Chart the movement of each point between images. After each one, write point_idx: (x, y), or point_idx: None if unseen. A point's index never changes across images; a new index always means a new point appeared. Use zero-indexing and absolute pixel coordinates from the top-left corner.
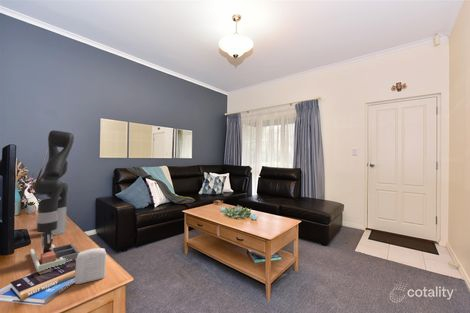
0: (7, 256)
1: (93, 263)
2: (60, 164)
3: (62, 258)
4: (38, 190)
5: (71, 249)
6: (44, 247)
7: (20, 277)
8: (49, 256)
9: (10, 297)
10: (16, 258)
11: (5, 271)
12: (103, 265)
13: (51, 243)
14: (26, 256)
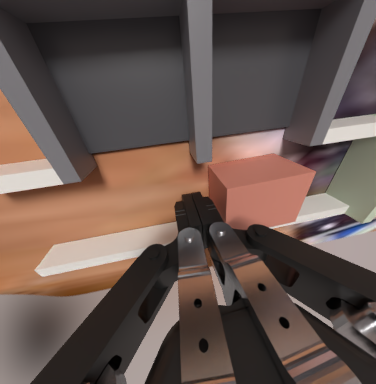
0: (59, 295)
1: None
2: None
3: (351, 128)
4: None
5: (210, 21)
6: (277, 264)
7: (288, 232)
8: (301, 198)
9: (368, 227)
10: (100, 272)
11: (209, 265)
12: None
13: (349, 263)
14: None
